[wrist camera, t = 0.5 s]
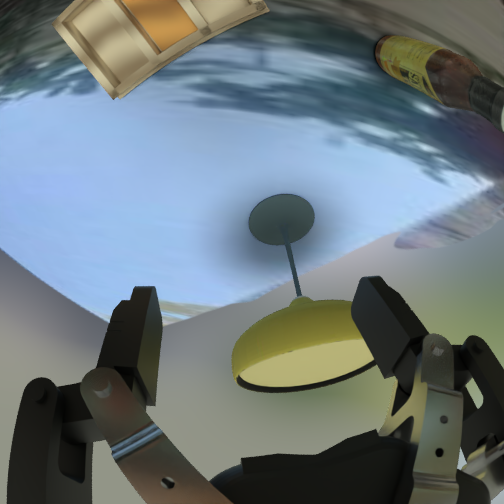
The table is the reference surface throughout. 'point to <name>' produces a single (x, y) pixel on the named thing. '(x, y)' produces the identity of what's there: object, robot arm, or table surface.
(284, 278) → the table surface
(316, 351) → the cocktail glass
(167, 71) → the table surface
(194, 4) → the rack
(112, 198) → the table surface
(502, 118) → the sauce bottle
